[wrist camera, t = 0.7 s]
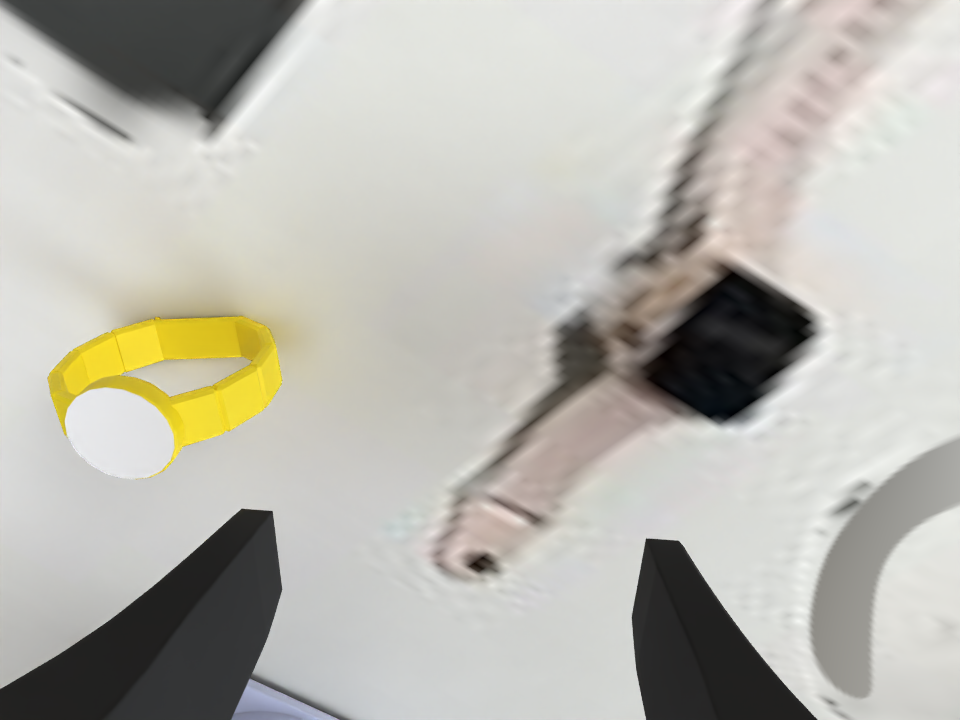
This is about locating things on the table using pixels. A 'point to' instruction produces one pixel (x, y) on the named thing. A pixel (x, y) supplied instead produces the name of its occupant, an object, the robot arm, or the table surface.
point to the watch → (159, 391)
